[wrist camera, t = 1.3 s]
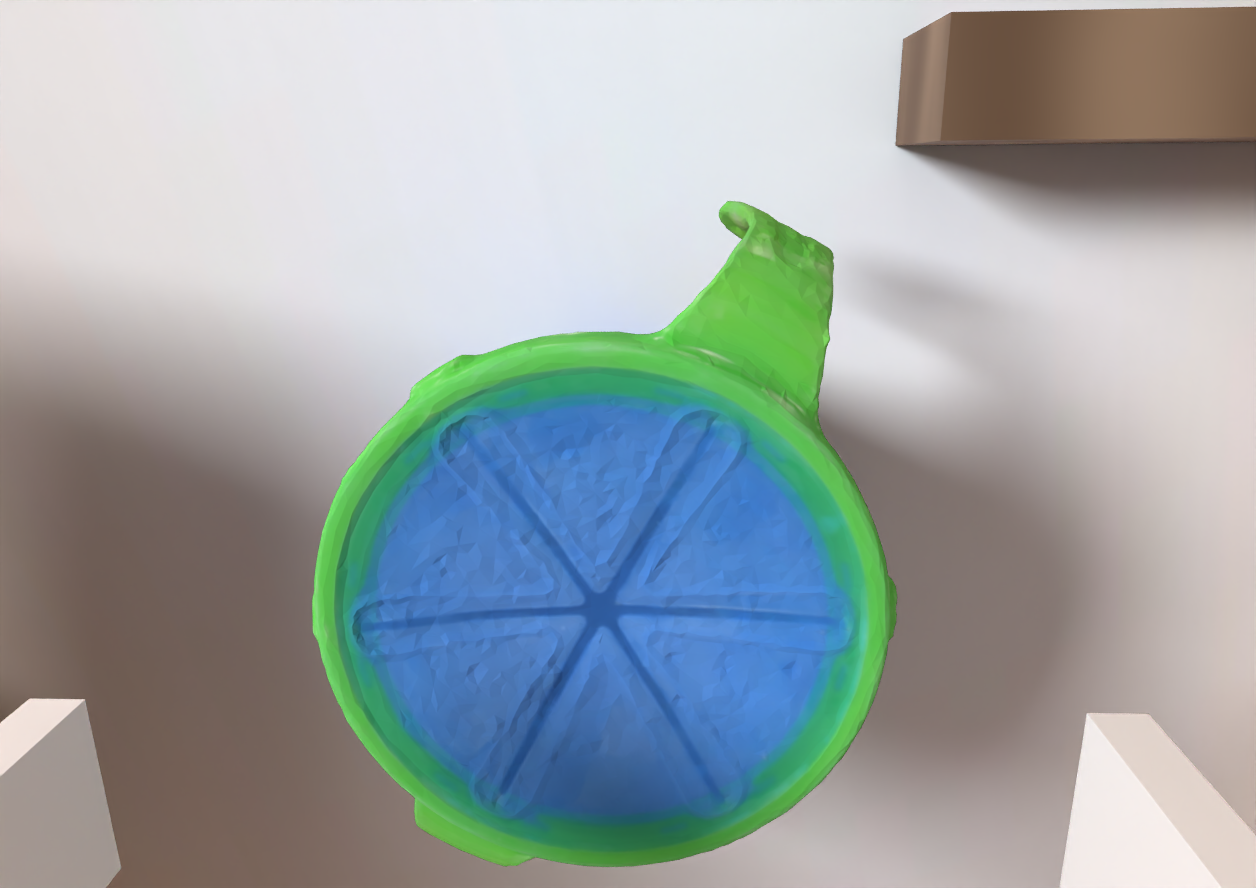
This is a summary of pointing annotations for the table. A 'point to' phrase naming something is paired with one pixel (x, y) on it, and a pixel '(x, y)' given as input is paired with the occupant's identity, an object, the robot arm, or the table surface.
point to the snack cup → (614, 579)
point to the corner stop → (1080, 77)
